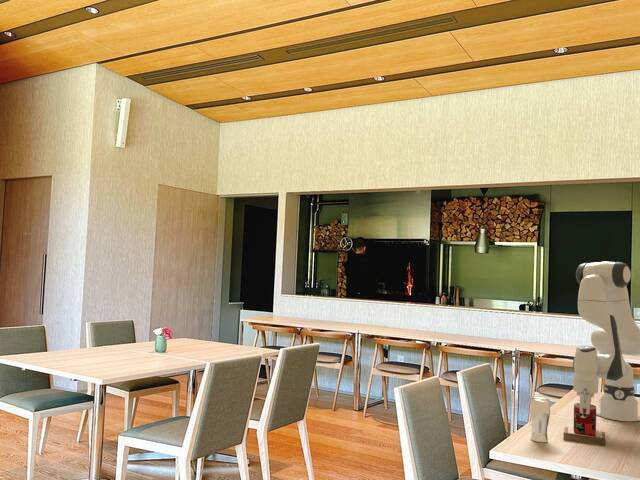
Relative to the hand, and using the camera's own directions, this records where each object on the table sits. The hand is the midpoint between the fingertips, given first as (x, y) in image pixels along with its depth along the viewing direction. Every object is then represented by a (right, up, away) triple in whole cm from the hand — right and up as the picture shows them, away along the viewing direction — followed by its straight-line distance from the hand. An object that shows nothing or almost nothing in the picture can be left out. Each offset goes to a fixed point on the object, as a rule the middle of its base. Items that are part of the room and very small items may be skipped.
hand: (584, 422), depth 238 cm
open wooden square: (-6, -2, -13) cm, 15 cm away
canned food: (-3, -3, -6) cm, 7 cm away
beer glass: (-25, -1, -18) cm, 31 cm away
